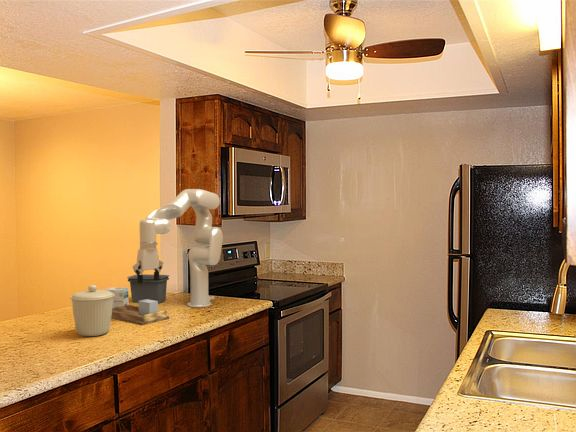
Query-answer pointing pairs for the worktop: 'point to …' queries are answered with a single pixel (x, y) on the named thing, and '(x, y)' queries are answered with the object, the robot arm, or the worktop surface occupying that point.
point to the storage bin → (148, 288)
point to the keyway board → (137, 315)
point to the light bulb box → (119, 296)
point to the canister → (92, 311)
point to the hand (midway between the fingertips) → (148, 281)
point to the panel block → (147, 307)
